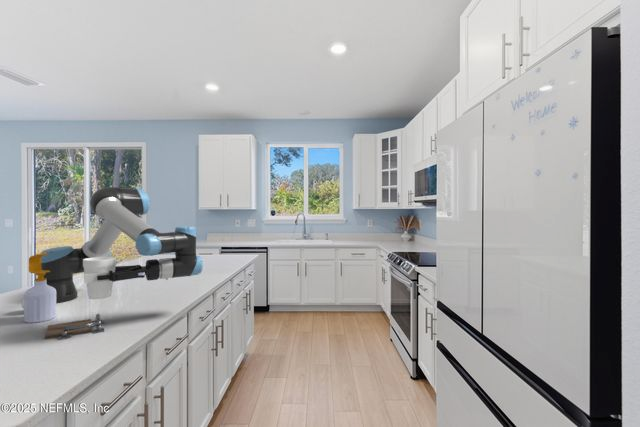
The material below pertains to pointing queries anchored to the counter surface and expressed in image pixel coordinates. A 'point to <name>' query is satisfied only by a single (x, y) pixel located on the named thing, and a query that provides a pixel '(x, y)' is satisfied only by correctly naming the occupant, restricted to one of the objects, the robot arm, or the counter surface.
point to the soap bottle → (39, 295)
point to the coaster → (58, 328)
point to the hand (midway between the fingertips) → (84, 276)
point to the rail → (95, 323)
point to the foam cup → (99, 266)
